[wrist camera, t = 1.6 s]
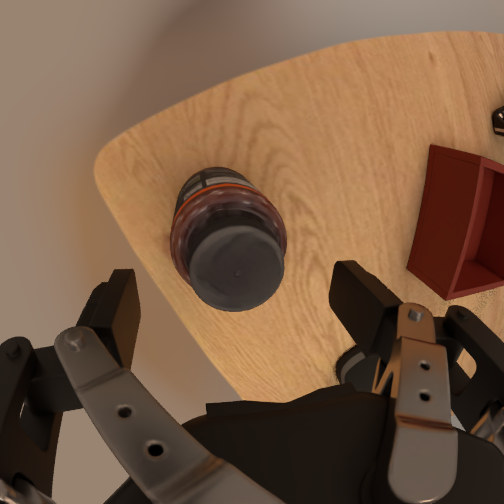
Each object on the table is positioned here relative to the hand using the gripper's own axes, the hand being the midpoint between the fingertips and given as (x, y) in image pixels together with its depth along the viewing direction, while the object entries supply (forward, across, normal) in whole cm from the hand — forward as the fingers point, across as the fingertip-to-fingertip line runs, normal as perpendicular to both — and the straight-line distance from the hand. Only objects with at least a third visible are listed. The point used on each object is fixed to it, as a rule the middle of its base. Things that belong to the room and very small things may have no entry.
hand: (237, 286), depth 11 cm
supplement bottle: (+12, 0, 0) cm, 12 cm away
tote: (+12, -27, 0) cm, 30 cm away
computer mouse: (+12, -19, +22) cm, 31 cm away
